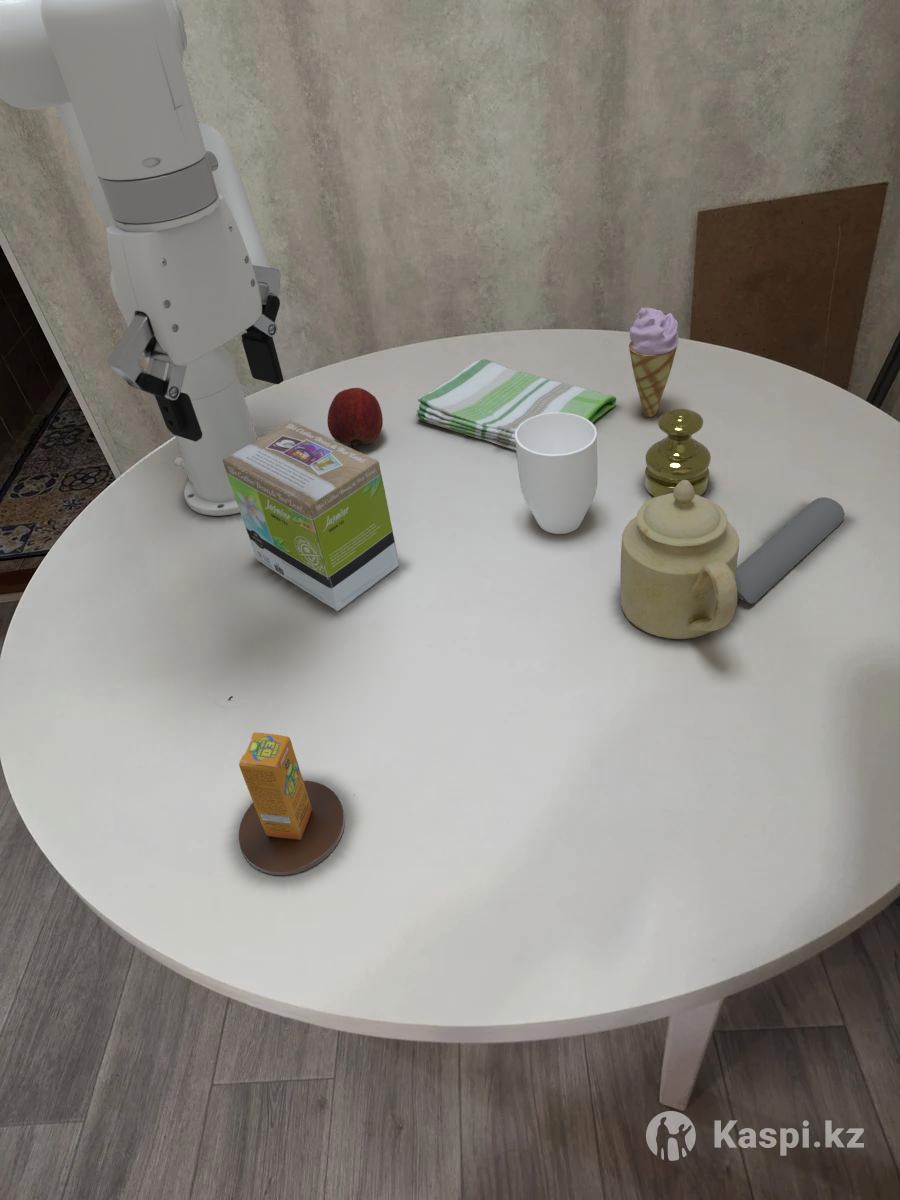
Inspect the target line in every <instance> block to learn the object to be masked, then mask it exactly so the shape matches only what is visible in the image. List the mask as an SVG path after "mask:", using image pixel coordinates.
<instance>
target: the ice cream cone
mask: <svg viewBox="0 0 900 1200" xmlns="http://www.w3.org/2000/svg"><path fill="white" fill-rule="evenodd" d="M635 315H637V318H636V319H635V320H634V322H633V325H632V326H631V327H630V329H629V340H630V342H629V343H628V349H629V355H630V362H631V367H632V371H633V372H632V373H633V376H634V381H635V385H636V388H637V393H638V396H639V400H640V403H641V407H642V410H643V411H642V412H643V414H644V417H646V418H653V417H655V416H656V414H657V410H658V408H659V405H660V403H661V400H662V397H663V395H664V392H665V389H666V386H667V383H668V380H669V377H670V374H671V371H672V367H673V364H674V360H675V357H676V353H677V348H678V344H679V333H678V328H679V326H678V325H679V323H678V320H676V318H675V316H674V315H673V313H672V312H669V313H667V314H664V312H663V311H662V310H660V309H656V308H652V307H640V310H639V311H638V312H635Z"/></svg>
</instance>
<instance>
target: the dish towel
mask: <svg viewBox="0 0 900 1200" xmlns="http://www.w3.org/2000/svg"><path fill="white" fill-rule="evenodd" d="M417 401H418V402H419V404H418V409H416V413H415V417H417V419H418V420H420V421H422V422H425V423H428V424H431V425H435V426H438V427H440V428H443V429H447V430H449V431H453V432H456V433H460V434H463V435H465V436H469V437H472V438H474V439H479V440H483V441H487V442H490V443H493V444H496V445H497V446H501V447H503V448H506V449H511V450H513V451H516V442H515V431H516V429H517V427H518V426H519V425H520V424H521V423H522V422H524V421H525V420H527V419H529V418H531V417H533V416H536V415H540V414H545V413H554V412H562V413H570V414H575V415H578V416H581V417H584V418H586V419H587V420H589V421H590V422H591V423H592V424H594V422H595V421H597V420H598V419H599V418H601V417H602V416H603V415H605V414H606V413H607V412H608V411H610V410H612V409H613V408H614V407H616V404H617V403H616V402H617V397H616V396H614V395H613V394H612V395H611V394H607V393H602V392H598V391H594V390H591V389H589V388H588V389H587V388H582V387H580V386H577V385H573V384H569V383H565V382H563V383H562V382H559V381H555V380H553V379H552V380H551V379H548V378H545V377H542V376H540V375H535V374H531V373H528V372H522V371H518V370H515V369H511V368H509V367H507V366H503V365H500V364H497V363H496V362H494V361H491V360H489V359H487V358H483V359H478V360H475V361H473V362H471V363H470V364H469V365H467V366H466V367H465V368H463V369H462V370H461V371H459V373H457V374H456V375H454V376H452V377H451V379H449V380H448V381H446V382H444V383H442V384H441V385H439V386H438V387H436V388H435V389H433V390H431V391H429V392H427V393H424V394H423V395H419V396H418V397H417Z"/></svg>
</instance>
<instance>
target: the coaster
mask: <svg viewBox="0 0 900 1200" xmlns="http://www.w3.org/2000/svg"><path fill="white" fill-rule="evenodd" d="M303 782H304V785H305V788H306V791H307V795H308V798H309V801H310V804H311V807H312V812H311V814H310V817H309V820H308V823H307V826H306V828H305V831H304V833H303V836H302V838H301V839H300V840H297V839H288V838H279V837H272V836H267V835H266V833H265V831H264V828H263V826H262V824H261V821H260V818H259V816H258V813H257V811H256V808H255V806H254V803H253V802H251V804H250V805H249V807H248V808H247V809H246V811H245V812H244V815H243V817H242V819H241V821H240V824H239V829H238V843H239V847H240V850H241V852H242V854H243V856H244V859H246V861H247V862H248V863H249V864H250V865H251V866H252V867H254V868H255V869H256V870H258V871H260V872H262V873H266V874H268V875H274V876H291V875H295V874H296V875H297V874H300V873H303V872H306V871H309V870H310V869H312V868H313V867H316V866H317V865H318V864H320V863H321V862H323V861H324V860H325V859H326V858H328V856H330V854H331V853H332V852H333V851H334V850H335V848H336V847H337V845H338V844H339V842H340V840H341V838H342V837H343V833H344V829H345V824H346V823H345V821H346V817H345V810H344V807H343V805H342V802H341V800H340V798H339V797H338V795H337V794H336V793H335V792H334V791H333V790H332V789H331V788H330V787H328V786H327V785H324V784H322V783H320V782H317V781H313V780H304V779H303Z"/></svg>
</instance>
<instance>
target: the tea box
mask: <svg viewBox="0 0 900 1200" xmlns="http://www.w3.org/2000/svg"><path fill="white" fill-rule="evenodd" d="M223 464H224V467H225V470H226V473H227V476H228V479H229V482H230V484H231V487H232V490H233V493H234V496H235V499H236V502H237V505H238V507H239V510H240V513H239V514H240V515H241V518H242V522H243V525H244V527H245V529H246V533H247V535H248V538H249V541H250V544H251V547H252V550H253V553H254V556H255V558H256V560H257V561H258V562H260V563H261V564H262V565H264V566H265V567H267V568H268V569H269V570H271V571H274V572H275V573H276V574H278V575H279V576H281V577H282V578H284V579H285V580H288V581H289V582H291V583H292V584H294V585H295V586H297V587H298V588H299V589H301V590H303V591H304V592H306V593H308V594H310V595H311V596H312V597H314V598H315V599H317V600H319V601H320V602H321V603H323V604H325V605H327V606H328V607H330V608H331V609H333V610H334V611H336V612H339V611H341V610H342V609H343V608H345V607H346V606H348V605H349V604H350V603H352V602H353V601H355V600H356V599H357V598H358V597H360V596H361V595H362V594H364V593H365V592H366V591H367V590H369V589H370V588H371V587H373V586H374V585H376V584H377V583H378V582H380V581H381V580H382V579H384V578H385V577H387V575H390V573H391V572H392V571H394V570H395V569H396V568H397V567H399V565H400V562H399V556H398V551H397V545H396V542H395V541H396V540H395V535H394V530H393V526H392V521H391V516H390V511H389V510H390V509H389V507H388V506H389V505H388V499H387V494H386V491H385V490H386V489H385V485H384V481H383V475H382V471H381V466H380V461H379V460H378V459H375V458H373V457H372V456H369V455H367V454H365V453H362V452H360V451H358V450H356V449H355V448H351V447H350V446H347V445H346V444H344V443H340V442H338V441H336V440H335V439H333V438H332V439H331V438H330V437H327V436H325V435H324V434H321V433H319V432H317V431H314V430H312V429H310V428H308V427H306V426H304V425H302V424H300V423H297V422H295V421H293V420H290V419H289V420H287V421H286V422H284V423H282V424H281V425H279V426H278V427H276V428H274V429H273V430H271V431H269V432H268V433H266V434H265V435H263V436H261V437H260V438H257V440H256V441H254V442H253V443H251V444H249V445H248V446H246V447H244V448H243V449H241V450H239V451H238V452H236V453H234V454H233V455H231V456H229V457H228V458H226V459H223Z"/></svg>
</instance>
